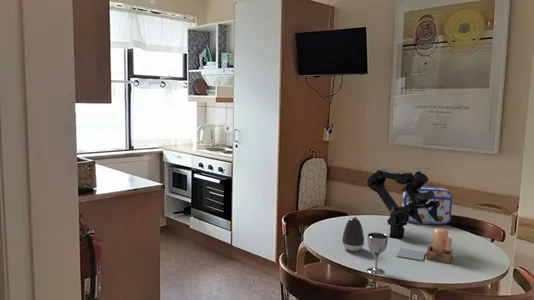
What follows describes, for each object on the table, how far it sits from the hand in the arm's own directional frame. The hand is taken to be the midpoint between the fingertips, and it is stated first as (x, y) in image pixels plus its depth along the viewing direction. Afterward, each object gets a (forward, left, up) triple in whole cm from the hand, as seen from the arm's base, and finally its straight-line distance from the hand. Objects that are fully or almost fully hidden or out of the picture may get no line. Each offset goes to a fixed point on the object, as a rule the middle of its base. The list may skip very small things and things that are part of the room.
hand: (429, 222), depth 194 cm
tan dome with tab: (+6, -7, -14) cm, 17 cm away
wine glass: (-17, -35, -14) cm, 41 cm away
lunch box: (-7, +50, -14) cm, 52 cm away
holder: (+5, -6, -14) cm, 16 cm away
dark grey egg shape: (-32, -15, -14) cm, 38 cm away
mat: (-6, -9, -14) cm, 18 cm away
